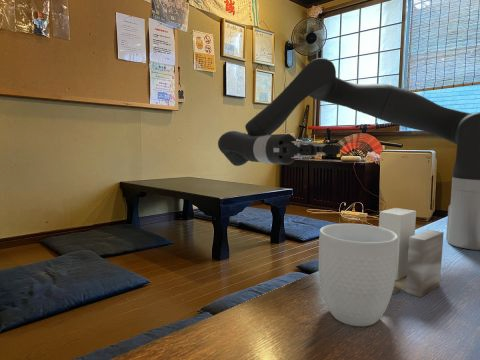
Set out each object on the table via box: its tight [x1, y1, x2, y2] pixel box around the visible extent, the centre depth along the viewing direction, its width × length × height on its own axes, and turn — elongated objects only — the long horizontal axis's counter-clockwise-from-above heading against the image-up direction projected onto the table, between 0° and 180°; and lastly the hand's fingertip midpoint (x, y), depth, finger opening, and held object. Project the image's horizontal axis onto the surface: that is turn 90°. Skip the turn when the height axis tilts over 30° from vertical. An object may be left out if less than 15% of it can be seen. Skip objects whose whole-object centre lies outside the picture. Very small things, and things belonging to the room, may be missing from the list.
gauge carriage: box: [378, 207, 417, 280], centre depth 64 cm, size 4×10×12 cm, turn 129°
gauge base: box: [392, 229, 444, 298], centre depth 65 cm, size 14×10×10 cm
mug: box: [317, 223, 398, 327], centre depth 52 cm, size 15×11×13 cm
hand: (328, 149), depth 75 cm, fingers open, 8 cm apart
